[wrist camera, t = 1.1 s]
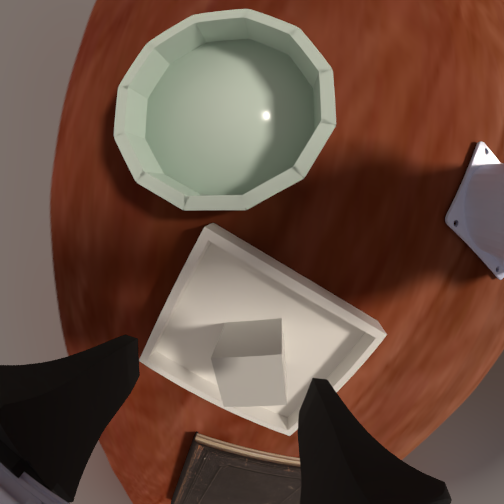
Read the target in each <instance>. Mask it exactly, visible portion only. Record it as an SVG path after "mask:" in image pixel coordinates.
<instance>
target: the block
mask: <svg viewBox="0 0 504 504" xmlns="http://www.w3.org/2000/svg"><path fill="white" fill-rule="evenodd" d="M211 361H212V365H213V369H214V373H215V376H216V380H217V384H218V388H219V391H220V395H221V399H222V402H223V406H224V407H253V406H276V405H287V370H286V355H285V345H284V335H283V325H282V318H277V319H266V320H254V321H240V322H225V325H224V327H223V330H222V332H221V334H220V337H219V339H218V342H217V344H216V346H215V349H214V351H213V354H212V356H211Z"/></svg>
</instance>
